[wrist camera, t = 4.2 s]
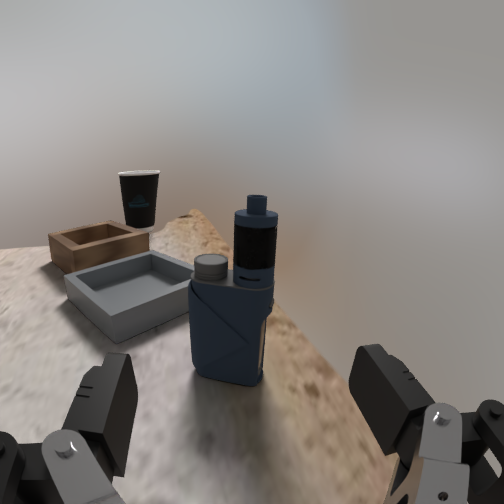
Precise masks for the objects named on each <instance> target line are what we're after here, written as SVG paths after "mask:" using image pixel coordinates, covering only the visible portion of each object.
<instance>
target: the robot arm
mask: <svg viewBox="0 0 504 504" xmlns="http://www.w3.org/2000/svg"><path fill="white" fill-rule="evenodd" d="M349 389H350V393H351V395H352V396H353V398H354V400H355V402H356V404H357V405H358V407H359V409H360V411H361V413H362V414H363V416H364V418H365V420H366V422H367V423H368V425H369V427H370V429H371V431H372V433H373V434H374V436H375V438H376V440H377V442H378V444H379V445H380V447H381V449H382V451H383V453H384V455H385V456H386V455H389V454H392V453H396V452H397V453H398V455H399V457H398V459H397V461H396V464H395V468H394V471H393V475H392V478H391V482H390V485H389V488H388V491H387V495H386V498H385V500H384V503H383V504H467V502H468V503H469V504H504V405H503V404H502V403H500V402H498V401H496V400H485V401H483V402H482V403H481V404H480V406H479V408H478V409H477V411H476V412H469V413H459V411H458V410H457V409H456V408H454V407H453V406H451V405H448V404H445V403H435V402H434V400H433V399H432V398H431V396H430V395H429V394H428V393H427V391H426V390H425V389H424V388H423V387H422V385H421V384H420V383H419V382H418V380H417V379H415V377H414V375H413V374H412V373H411V372H409V369H408V368H407V367H406V366H405V365H404V363H403V362H402V361H400V360H399V359H397V358H396V357H394V356H392V355H388V354H387V352H386V351H385V350H384V349H383V347H382V346H381V345H380V344H372V345H365V346H360V347H358V349H357V351H356V355H355V359H354V362H353V366H352V370H351V373H350V377H349ZM137 403H138V389H137V384H136V380H135V375H134V371H133V366H132V361H131V357H130V355H129V354H122V353H107V355H106V357H105V359H104V362H103V364H102V366H93V367H92V368H91V369H90V370H89V371H88V372H87V373H86V374H85V375H84V376H83V379H82V381H81V383H80V388H78V390H77V392H76V396H75V397H74V400H73V402H72V404H71V407H70V409H69V412H68V414H67V417H66V419H65V422H64V424H63V427H62V429H61V430H57V431H55V432H52V433H51V434H49V435H48V436H47V437H46V438H45V439H44V441H43V443H31V444H18V443H17V442H16V440H15V439H14V437H13V436H12V435H10V434H9V433H6V432H2V431H0V504H125V502H124V501H123V500H122V498H121V497H120V495H119V494H118V493H117V492H116V490H115V489H114V487H113V486H112V481H113V476H118V477H124V474H125V468H126V462H127V456H128V450H129V444H130V439H131V433H132V428H133V423H134V418H135V413H136V408H137ZM489 448H490V450H491V451H492V453H493V454H494V455H495V457H496V458H497V460H498V461H499V463H500V464H501V467H502V473H501V476H500V477H499V478H498V477H497V475H496V474H495V472H494V470H493V469H492V467H491V466H490V465H489V463H488V461H487V460H486V458H485V457H484V454H485V453H486V451H487V450H488V449H489Z"/></svg>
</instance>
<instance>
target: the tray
mask: <svg viewBox="0 0 504 504" xmlns="http://www.w3.org/2000/svg"><path fill="white" fill-rule="evenodd" d="M192 272H194V265H191V264H189V263H186V262H183V261H181V260H178V259H175V258H173V257H170V256H167V255H165V254H162V253H159V252H157V251H154V250H151V251H148V252H144V253H140V254H137V255H133V256H130V257H126V258H122V259H119V260H115V261H112V262H108V263H105V264H101V265H98V266H94V267H91V268H87V269H84V270H80V271H77V272H74V273H70V274H67V275H64V281H65V286H66V292H67V297H68V299H69V300H70V301H71V302H72V303H73V304H74V305H75V306H76V307H77V308H78V309H79V310H80V311H81V312H82V313H83V314H84V315H85V316H86V317H87V318H88V319H89V320H90V321H91V322H92V323H94V324H95V325H96V326H97V327H98V328H99V329H100V330H101V331H102V332H103V333H104V334H105V335H107V336H108V337H109V338H110V339H111V340H112V341H113V342H114V343H116V344H118V343H120V342H122V341H125V340H127V339H129V338H131V337H134V336H136V335H138V334H140V333H142V332H145V331H147V330H149V329H151V328H154V327H156V326H158V325H160V324H162V323H165V322H167V321H169V320H171V319H173V318H176V317H178V316H180V315H182V314H184V313H186V312H189V305H188V284H189V282H190V280H191V273H192Z"/></svg>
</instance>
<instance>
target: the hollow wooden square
mask: <svg viewBox="0 0 504 504" xmlns="http://www.w3.org/2000/svg"><path fill="white" fill-rule="evenodd" d="M48 237H49V245H50V253H51V259H52V261H53V262H54V263H55V264H56V265H57V266H58V267H59V268H60V269H61V270H63V271H64V272H65V273H66V274H70V273H74V272H77V271H80V270H84V269H87V268H91V267H94V266H98V265H101V264H105V263H108V262H112V261H115V260H119V259H122V258H126V257H130V256H133V255H137V254H140V253H144V252H148V251H150V249H149V232H146V231H142V230H139V229H136V228H133V227H130V226H127V225H123V224H120V223H117V222H114V221H106V222H101V223H96V224H92V225H87V226H82V227H77V228H73V229H68V230H64V231H59V232H55V233H51V234H48Z"/></svg>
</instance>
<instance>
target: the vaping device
mask: <svg viewBox="0 0 504 504" xmlns="http://www.w3.org/2000/svg"><path fill="white" fill-rule="evenodd" d="M266 206H267V196H264V195H248V196H247V209H244V210H239V211H236V212H235V221H234V257H233V270H229V269H228V258H227V257H225V256H223V255H219V254H203V255H199V256H197V257H195V258H194V272H192V273H191V280H190V282H189V284H188V305H189V323H190V339H191V353H192V362H193V365H194V367H195V368H196V371H197V373H198V374H199V375H201V376H203V377H207V378H212V379H216V380H221V381H226V382H231V383H236V384H241V385H246V386H256V385H257V383H259V382H260V380H261V379H262V377H263V370H262V368H263V358H264V345H265V332H266V318H267V316H268V315H269V314H270V313H271V312H272V306H273V304H274V298H273V292H274V283H275V281H274V268H275V267H274V266H275V253H276V239H277V227H276V226H277V224H278V214H277V213H275V212H273V211H268V210H266ZM275 227H276V229H275ZM275 231H276V232H275Z"/></svg>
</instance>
